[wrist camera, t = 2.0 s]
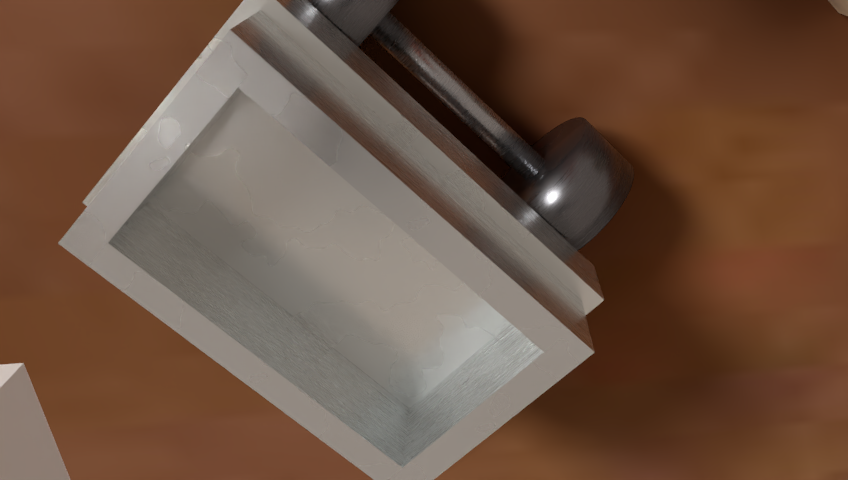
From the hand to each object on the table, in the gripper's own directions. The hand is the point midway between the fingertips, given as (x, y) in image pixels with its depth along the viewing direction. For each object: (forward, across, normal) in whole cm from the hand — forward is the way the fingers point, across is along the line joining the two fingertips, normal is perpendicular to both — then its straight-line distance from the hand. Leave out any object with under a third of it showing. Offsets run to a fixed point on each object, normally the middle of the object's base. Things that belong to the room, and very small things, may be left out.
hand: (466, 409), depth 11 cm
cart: (+20, -4, -3) cm, 21 cm away
